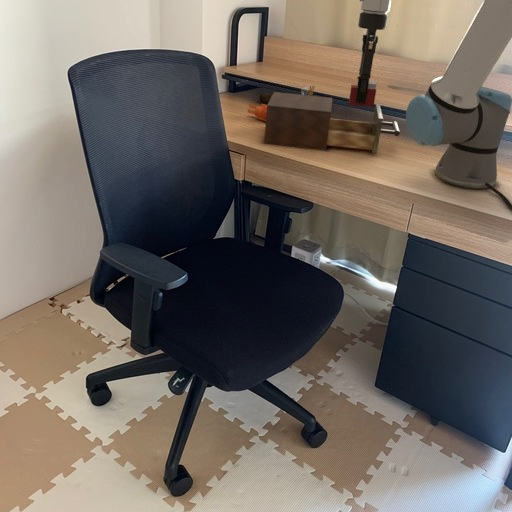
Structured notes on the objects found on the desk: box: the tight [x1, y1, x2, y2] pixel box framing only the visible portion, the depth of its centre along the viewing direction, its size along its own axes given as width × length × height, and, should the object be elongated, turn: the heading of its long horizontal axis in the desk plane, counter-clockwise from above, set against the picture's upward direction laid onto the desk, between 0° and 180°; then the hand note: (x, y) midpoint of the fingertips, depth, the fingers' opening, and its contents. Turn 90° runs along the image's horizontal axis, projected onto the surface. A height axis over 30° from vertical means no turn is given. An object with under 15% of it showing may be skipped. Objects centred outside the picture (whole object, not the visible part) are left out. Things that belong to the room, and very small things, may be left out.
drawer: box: [327, 103, 401, 154], centre depth 155 cm, size 24×17×10 cm
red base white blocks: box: [348, 80, 377, 108], centre depth 150 cm, size 7×3×6 cm, turn 82°
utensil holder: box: [300, 85, 315, 96], centre depth 174 cm, size 6×6×12 cm
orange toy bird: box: [247, 102, 268, 122], centre depth 173 cm, size 5×8×12 cm
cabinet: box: [263, 91, 333, 151], centre depth 156 cm, size 18×17×11 cm
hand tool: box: [259, 91, 273, 105], centre depth 186 cm, size 19×4×5 cm, turn 37°
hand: (360, 101), depth 151 cm, fingers closed on red base white blocks, 3 cm apart
